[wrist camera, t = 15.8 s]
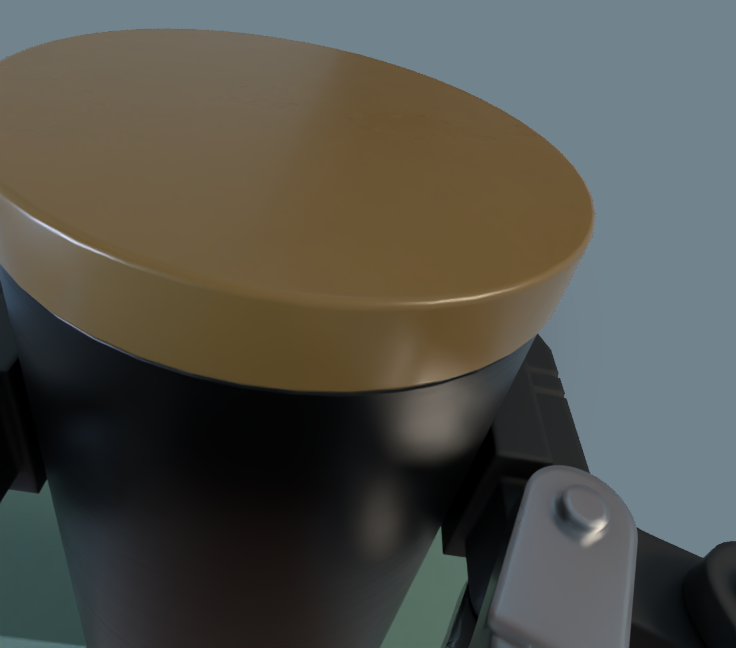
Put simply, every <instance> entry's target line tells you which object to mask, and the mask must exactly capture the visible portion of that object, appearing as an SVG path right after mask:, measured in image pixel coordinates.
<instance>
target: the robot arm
mask: <svg viewBox="0 0 736 648" xmlns="http://www.w3.org/2000/svg"><path fill="white" fill-rule="evenodd" d="M564 394H565V393H564V390H563V387H562V383H561V380H560V378H558V371H557V367H556V364H555V361H554V358H553V355H552V352H551V350H550V348H549V347H548V346H547V345H546V344H545V342H544V341H543V339H542V338H541V337H540V336H539V335H538V334H537V335H536V337H535V339H534V341H533V343H532V345H531V347H530V349H529V351H528V353H527V355H526V357H525V359H524V361H523V363H522V365H521V367H520V369H519V371H518V373H517V375H516V377H515V379H514V381H513V383H512V385H511V387H510V389H509V391H508V393H507V395H506V397H505V399H504V401H503V403H502V405H501V407H500V409H499V411H498V413H497V415H496V417H495V419H494V421H493V423H492V425H491V427H490V429H489V431H488V433H487V435H486V437H485V439H484V441H483V443H482V445H481V447H480V449H479V451H478V453H477V455H476V457H475V459H474V461H473V463H472V465H471V467H470V469H469V471H468V473H467V475H466V477H465V479H464V481H463V483H462V485H461V487H460V489H459V491H458V493H457V495H456V497H455V499H454V501H453V503H452V505H451V507H450V509H449V511H448V513H447V515H446V517H445V518H444V520H443V522H442V524H441V534H442V549H443V554H444V555H451V556H458V557H464V558H466V563H467V573H468V579H467V581H466V583H465V584H464V586H463V588H462V590H461V592H460V594H459V597H458V600H457V603H456V606H455V609H454V611H453V614H452V617H451V620H450V623H449V626H448V629H447V632H446V635H445V637H444V640H443V643H442V646H441V648H736V541H730V542H724V543H721V544H719V545H717V546H716V547H715V548H714V549H712V550H711V551H710V552H709V553H708V554H707V555H706V556H705V557H704V558H702V557H699V556H697V555H695V554H693V553H690V552H688V551H686V550H684V549H681V548H679V547H677V546H675V545H673V544H670V543H668V542H666V541H664V540H661V539H659V538H657V537H655V536H652V535H650V534H648V533H646V532H644V531H642V530H640V529H639V528H637V527H636V524H635V521H634V519H633V516H632V514H631V512H630V511H629V509H628V507H627V506H626V504H625V503H624V501H623V500H622V499H621V498H620V497H619V495H617V494H616V493H615V491H614V490H613V489H611V488H610V487H609V486H608V485H607V484H606V483H604V482H603V481H601V480H600V479H598V478H597V477H595V476H593V475H591V474H590V472H589V469H588V466H587V463H586V459H585V456H584V453H583V450H582V447H581V444H580V441H579V437H578V434H577V431H576V428H575V425H574V421H573V418H572V415H571V412H570V409H569V406H568V402H567V399H566V398H564ZM46 480H47V476H46V471H45V467H44V463H43V459H42V454H41V450H40V446H39V442H38V438H37V433H36V429H35V425H34V421H33V416H32V412H31V408H30V404H29V399H28V395H27V391H26V387H25V382H24V378H23V374H22V370H21V365H20V361H19V357H18V353H17V348H16V344H15V340H14V336H13V331H12V327H11V323H10V319H9V314H8V310H7V306H6V302H5V297H4V293H3V289H2V285H1V280H0V503H1V501H2V500H3V498H4V496H5V495H6V493H7V491H8V490H16V491H23V492H30V493H37V494H39V493H40V491H41V489H42V487H43V486H44V484H45V482H46Z"/></svg>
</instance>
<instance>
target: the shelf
mask: <svg viewBox="0 0 736 648" xmlns="http://www.w3.org/2000/svg"><path fill="white" fill-rule="evenodd" d="M467 579H468V573H467V563H466V558H464V557H458V556H451V555H444V554H443V549H442V534H441V526H440V528H439V530H438V532H437V534H436V536H435V538H434V540H433V542H432V544H431V546H430V548H429V550H428V552H427V554H426V556H425V558H424V560H423V562H422V564H421V566H420V568H419V570H418V572H417V574H416V576H415V578H414V580H413V582H412V584H411V586H410V588H409V590H408V592H407V594H406V596H405V598H404V600H403V602H402V604H401V606H400V608H399V610H398V612H397V614H396V616H395V618H394V620H393V622H392V624H391V626H390V628H389V630H388V632H387V634H386V636H385V638H384V640H383V642H382V644H381V646H380V648H441V646H442V643H443V640H444V637H445V635H446V632H447V629H448V626H449V623H450V620H451V617H452V614H453V611H454V609H455V606H456V603H457V600H458V597H459V594H460V592H461V590H462V588H463V586H464V584H465V583H466V581H467ZM0 648H87V645H86V641H85V637H84V633H83V629H82V624H81V620H80V616H79V612H78V607H77V603H76V599H75V595H74V590H73V586H72V582H71V578H70V573H69V569H68V565H67V561H66V556H65V552H64V548H63V544H62V539H61V535H60V531H59V527H58V522H57V518H56V514H55V510H54V505H53V501H52V497H51V493H50V488H49V484H48V480H46V482H45V484H44V486H43V487H42V489H41V491H40V493H39V494H37V493H30V492H23V491H16V490H8V491H7V493H6V495H5V496H4V498H3V500H2V501H1V503H0Z"/></svg>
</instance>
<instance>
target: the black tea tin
mask: <svg viewBox="0 0 736 648" xmlns="http://www.w3.org/2000/svg"><path fill="white" fill-rule="evenodd" d="M594 222H595V212H594V205H593V200H592V196H591V194H590V192H589V190H588V187H587V185H586V183H585V182H584V180H583V178H582V177H581V176H580V174H579V173H578V171H577V170H576V168H575V167H574V166H573V165H572V164H571V163H570V162H569V161H568V159H567V158H566V157H565V156H564V155H563V154H562V153H561V152H560V151H559V150H558V149H556V148H555V147H554V146H553V145H552V144H551V143H549V142H548V141H547V140H546V139H545V138H544V137H542V136H541V135H539V134H538V133H536V132H535V131H533V130H532V129H531V128H529V127H528V126H527V125H525V124H524V123H522V122H521V121H519V120H517V119H516V118H514V117H512V116H511V115H509V114H508V113H506V112H504V111H503V110H501V109H499V108H497V107H495V106H493V105H491V104H489V103H488V102H486V101H484V100H482V99H479V98H478V97H475V96H473V95H471V94H469V93H467V92H465V91H463V90H461V89H458V88H456V87H453V86H451V85H449V84H446V83H444V82H441V81H439V80H436V79H434V78H431V77H428V76H426V75H423V74H420V73H417V72H415V71H412V70H409V69H406V68H403V67H399V66H396V65H393V64H390V63H387V62H384V61H380V60H377V59H373V58H370V57H366V56H363V55H359V54H355V53H351V52H347V51H342V50H338V49H334V48H329V47H325V46H320V45H315V44H310V43H305V42H299V41H293V40H287V39H282V38H276V37H268V36H261V35H254V34H246V33H235V32H226V31H212V30H211V31H210V30H196V29H136V30H122V31H109V32H102V33H94V34H86V35H80V36H75V37H70V38H65V39H60V40H55V41H51V42H48V43H44V44H41V45H37V46H34V47H30V48H28V49H25V50H23V51H21V52H18V53H15V54H13V55H11V56H8V57H6V58H4V59H3V60H1V61H0V280H1V285H2V289H3V293H4V297H5V302H6V306H7V310H8V314H9V319H10V323H11V327H12V331H13V336H14V340H15V344H16V348H17V353H18V357H19V361H20V365H21V370H22V374H23V378H24V382H25V387H26V391H27V395H28V399H29V404H30V408H31V412H32V416H33V421H34V425H35V429H36V433H37V438H38V442H39V446H40V450H41V454H42V459H43V463H44V467H45V471H46V476H47V480H48V484H49V488H50V493H51V497H52V501H53V505H54V510H55V514H56V518H57V522H58V527H59V531H60V535H61V539H62V544H63V548H64V552H65V556H66V561H67V565H68V569H69V573H70V578H71V582H72V586H73V590H74V595H75V599H76V603H77V607H78V612H79V616H80V620H81V624H82V629H83V633H84V637H85V641H86V645H87V648H380V646H381V644H382V642H383V640H384V638H385V636H386V634H387V632H388V630H389V628H390V626H391V624H392V622H393V620H394V618H395V616H396V614H397V612H398V610H399V608H400V606H401V604H402V602H403V600H404V598H405V596H406V594H407V592H408V590H409V588H410V586H411V584H412V582H413V580H414V578H415V576H416V574H417V572H418V570H419V568H420V566H421V564H422V562H423V560H424V558H425V556H426V554H427V552H428V550H429V548H430V546H431V544H432V542H433V540H434V538H435V536H436V534H437V532H438V530H439V528H440V526H441V524H442V522H443V520H444V518H445V517H446V515H447V513H448V511H449V509H450V507H451V505H452V503H453V501H454V499H455V497H456V495H457V493H458V491H459V489H460V487H461V485H462V483H463V481H464V479H465V477H466V475H467V473H468V471H469V469H470V467H471V465H472V463H473V461H474V459H475V457H476V455H477V453H478V451H479V449H480V447H481V445H482V443H483V441H484V439H485V437H486V435H487V433H488V431H489V429H490V427H491V425H492V423H493V421H494V419H495V417H496V415H497V413H498V411H499V409H500V407H501V405H502V403H503V401H504V399H505V397H506V395H507V393H508V391H509V389H510V387H511V385H512V383H513V381H514V379H515V377H516V375H517V373H518V371H519V369H520V367H521V365H522V363H523V361H524V359H525V357H526V355H527V353H528V351H529V349H530V347H531V345H532V343H533V341H534V339H535V337H536V335H537V334H538V332H539V331H540V330H541V329H542V328H543V327H544V325H545V324H546V323H547V322H548V321H549V320H550V319H551V317H552V315H553V313H554V312H555V309H556V308H557V306H558V304H559V302H560V300H561V298H562V296H563V294H564V292H565V290H566V288H567V286H568V284H569V282H570V280H571V278H572V276H573V274H574V272H575V270H576V268H577V266H578V264H579V262H580V260H581V259H582V256H583V255H584V253H585V250H586V249H587V246H588V245H589V243H590V241H591V239H592V236H593V230H594Z"/></svg>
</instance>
